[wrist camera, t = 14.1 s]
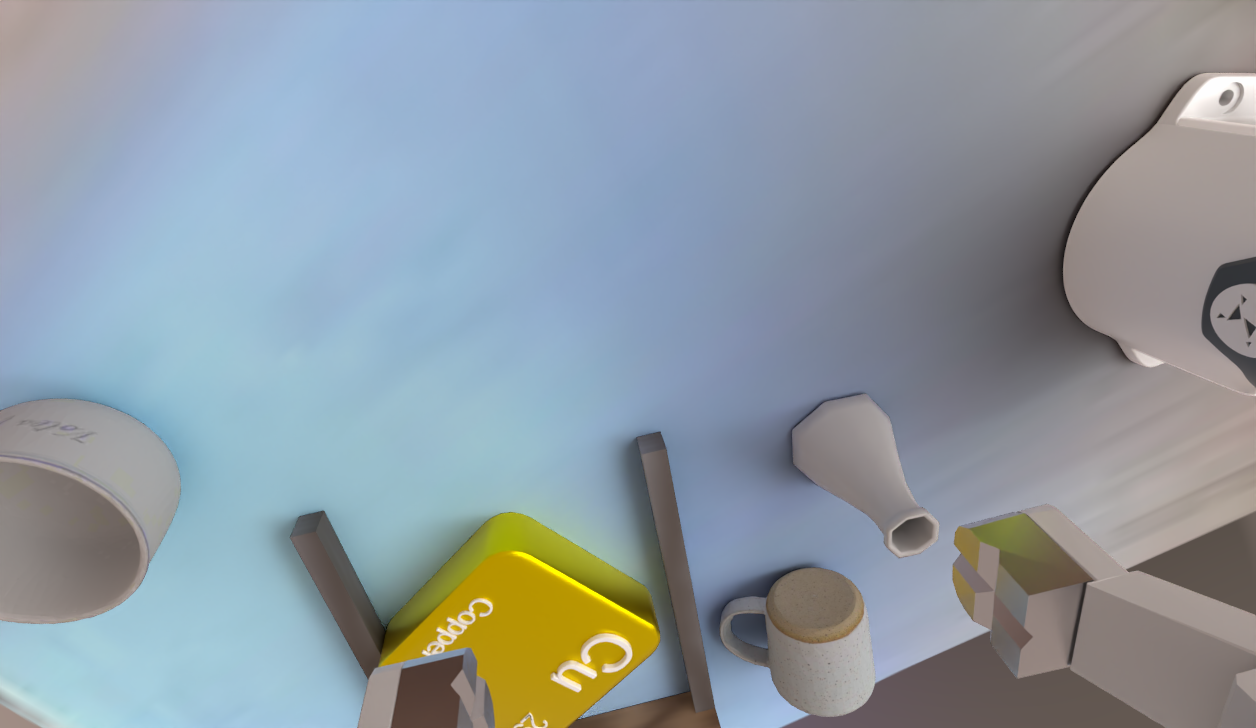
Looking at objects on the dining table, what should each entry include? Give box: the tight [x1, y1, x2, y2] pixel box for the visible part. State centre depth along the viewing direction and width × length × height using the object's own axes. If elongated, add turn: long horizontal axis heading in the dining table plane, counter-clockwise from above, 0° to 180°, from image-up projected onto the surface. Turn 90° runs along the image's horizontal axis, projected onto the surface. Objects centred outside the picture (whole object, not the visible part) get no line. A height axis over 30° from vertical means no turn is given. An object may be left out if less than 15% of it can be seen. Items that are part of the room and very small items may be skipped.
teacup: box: [0, 399, 181, 624], centre depth 36 cm, size 14×11×8 cm
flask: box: [792, 394, 939, 558], centre depth 42 cm, size 7×7×10 cm
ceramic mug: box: [719, 567, 875, 717], centre depth 50 cm, size 11×8×8 cm
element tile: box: [378, 512, 660, 728], centre depth 48 cm, size 15×15×5 cm
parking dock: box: [290, 432, 721, 728], centre depth 49 cm, size 24×30×4 cm
